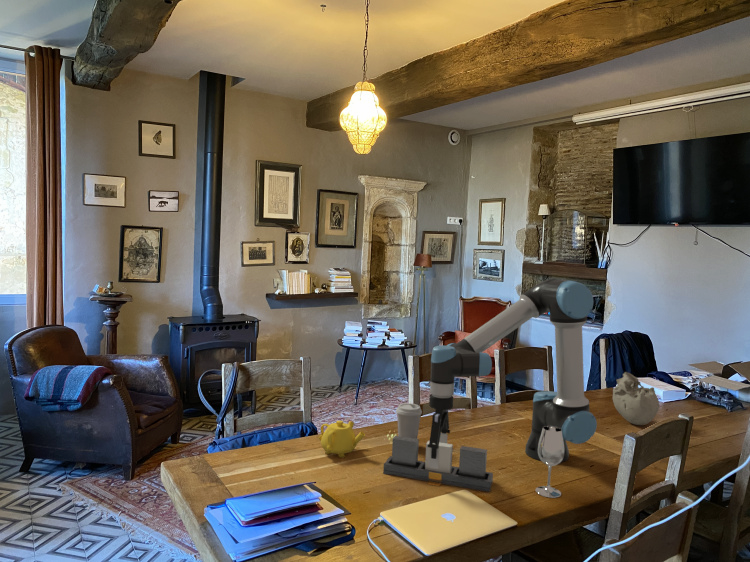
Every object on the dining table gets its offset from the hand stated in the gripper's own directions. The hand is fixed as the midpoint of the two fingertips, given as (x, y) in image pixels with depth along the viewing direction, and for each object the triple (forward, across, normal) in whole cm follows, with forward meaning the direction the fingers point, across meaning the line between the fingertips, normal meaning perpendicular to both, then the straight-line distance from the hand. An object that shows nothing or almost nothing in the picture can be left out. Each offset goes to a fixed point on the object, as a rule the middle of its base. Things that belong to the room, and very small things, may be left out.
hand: (438, 460), depth 178 cm
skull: (+6, -92, +69) cm, 115 cm away
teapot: (+6, -8, -36) cm, 37 cm away
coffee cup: (+6, -23, -16) cm, 29 cm away
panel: (+5, 0, 0) cm, 5 cm away
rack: (+6, +1, 0) cm, 6 cm away
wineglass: (+6, -3, +34) cm, 35 cm away
